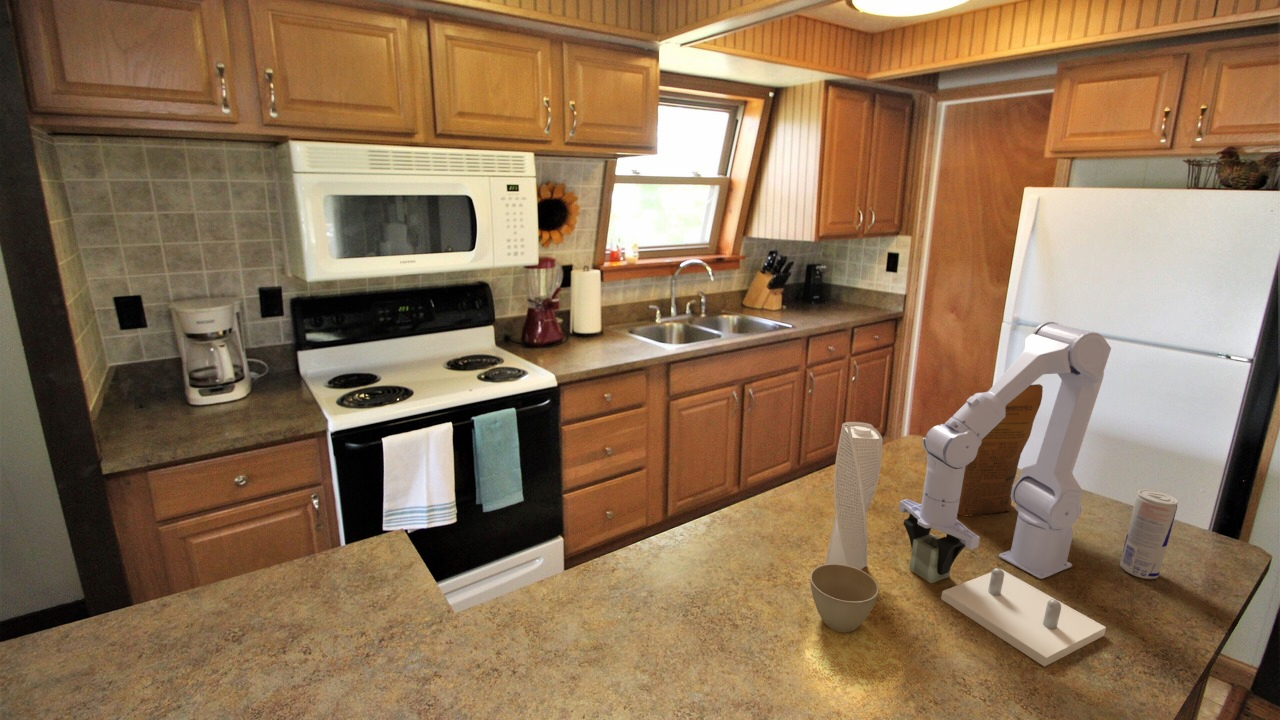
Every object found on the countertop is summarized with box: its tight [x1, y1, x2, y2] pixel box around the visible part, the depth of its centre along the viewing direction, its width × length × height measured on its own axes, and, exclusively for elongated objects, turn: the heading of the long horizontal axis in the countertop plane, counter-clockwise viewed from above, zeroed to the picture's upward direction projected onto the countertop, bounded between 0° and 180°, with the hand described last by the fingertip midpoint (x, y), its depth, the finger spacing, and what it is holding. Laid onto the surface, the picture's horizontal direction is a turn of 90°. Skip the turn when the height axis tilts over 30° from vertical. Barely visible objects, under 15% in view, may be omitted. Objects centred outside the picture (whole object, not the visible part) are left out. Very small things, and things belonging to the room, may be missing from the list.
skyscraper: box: [824, 421, 883, 570], centre depth 109 cm, size 8×8×28 cm
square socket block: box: [908, 533, 952, 584], centre depth 110 cm, size 5×5×6 cm
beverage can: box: [1119, 489, 1179, 580], centre depth 111 cm, size 6×6×15 cm
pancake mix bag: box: [958, 383, 1044, 517], centre depth 130 cm, size 7×19×28 cm, turn 103°
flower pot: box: [809, 563, 880, 633], centre depth 97 cm, size 10×10×7 cm
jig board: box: [940, 567, 1107, 667], centre depth 99 cm, size 15×17×6 cm
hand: (930, 564), depth 111 cm, fingers closed on square socket block, 5 cm apart
